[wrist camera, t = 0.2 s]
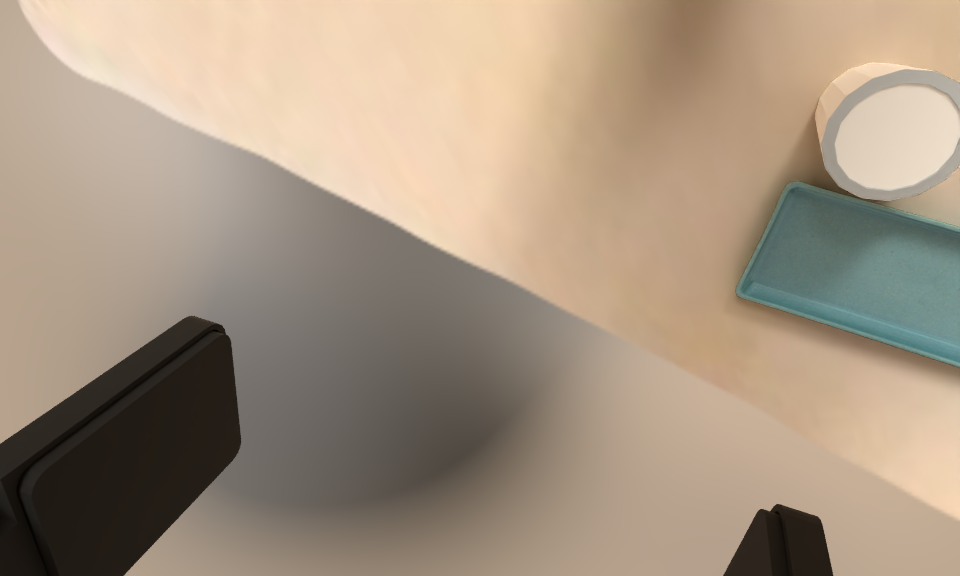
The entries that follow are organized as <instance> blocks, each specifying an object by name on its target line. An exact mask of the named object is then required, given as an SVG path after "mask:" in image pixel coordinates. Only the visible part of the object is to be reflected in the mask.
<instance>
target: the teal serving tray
mask: <svg viewBox="0 0 960 576" xmlns="http://www.w3.org/2000/svg"><path fill="white" fill-rule="evenodd" d="M736 295H737V296H738V297H740V298H743V299H746V300H750V301H753V302H756V303H759V304H763V305H766V306H769V307H772V308H775V309H779V310H782V311H785V312H788V313H791V314H794V315H798V316H801V317H804V318H807V319H810V320H813V321H816V322H819V323H823V324H826V325H829V326H832V327H835V328H839V329H842V330H845V331H848V332H851V333H854V334H857V335H860V336H863V337H866V338H869V339H872V340H876V341H879V342H882V343H885V344H888V345H891V346H894V347H897V348H901V349H903V350H906V351H910V352H913V353H916V354H919V355H922V356H925V357H929V358H931V359H934V360H937V361H940V362H943V363H947V364H950V365H953V366H956V367H959V368H960V227H958V226H954V225H951V224H947V223H944V222H940V221H936V220H933V219H929V218H926V217H922V216H919V215H915V214H911V213H908V212H904V211H901V210H897V209H894V208H890V207H887V206H883V205H879V204H876V203H872V202H869V201H865V200H861V199H858V198H854V197H851V196H847V195H843V194H840V193H836V192H833V191H829V190H826V189H822V188H819V187H815V186H812V185H809V184H806V183H803V182H800V181H793V182H791V183H789V184H787V185H786V186H785V188H784V190H783V192H782V195H781V197H780V199H779V201H778V203H777V205H776V208H775V210H774V212H773V214H772V217H771V219H770V221H769V223H768V225H767V227H766V229H765V231H764V234H763V236H762V238H761V240H760V242H759V243H758V245H757V248H756V250H755V251H754V253H753V255H752V257H751V259H750V261H749V263H748V265H747V267H746V269H745V271H744V273H743V275H742V277H741V279H740V281H739V283H738V285H737V287H736Z"/></svg>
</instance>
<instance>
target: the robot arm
mask: <svg viewBox="0 0 960 576" xmlns="http://www.w3.org/2000/svg"><path fill="white" fill-rule="evenodd" d="M240 445H241V435H240V425H239V415H238V407H237V396H236V386H235V376H234V367H233V357H232V347H231V340H230V338H229V336H228V335H226V333H225V329H224V328H223V326H222V325H219V324H217V323H214V322H211V321H207V320H204V319H201V318H198V317H195V316H189V317H186V318H184V319H183V320H181V321H180V322H178V323H177V324H175V325H174V326H172V327H171V328H169V329H168V330H167V331H165V332H164V333H162V334H161V335H159V336H158V337H156V338H155V339H153V340H152V341H150V342H149V343H148V344H146V345H144V346H143V347H142V348H140V349H139V350H137V351H136V352H134V353H133V354H131V355H130V356H128V357H127V358H125V359H124V360H122V361H121V362H120V363H118V364H117V365H115V366H114V367H112V368H111V369H109V370H108V371H106V372H105V373H103V374H102V375H100V376H99V377H98V378H96V379H95V380H93V381H92V382H90V383H89V384H87V385H86V386H85V387H83V388H81V389H80V390H79V391H77V392H76V393H74V394H73V395H71V396H70V397H69V398H67V399H65V400H64V401H62V402H61V403H59V404H58V405H57V406H55V407H54V408H52V409H51V410H49V411H48V412H46V413H45V414H43V415H42V416H41V417H39V418H37V419H36V420H35V421H33V422H32V423H30V424H29V425H27V426H26V427H25V428H23V429H21V430H20V431H19V432H17V433H16V434H14V435H13V436H11V437H10V438H8V439H7V440H5V441H4V442H2V443H1V444H0V576H124V575H125V573H126V572H127V571H128V570H129V569H130V568H131V567H132V566H133V565H134V564H135V563H136V562H137V561H138V560H139V559H140V558H141V557H142V555H143V554H144V553H145V552H146V551H147V550H148V549H149V548H150V547H151V546H152V545H153V544H154V543H155V542H156V541H157V540H158V539H159V538H160V536H162V534H163V533H164V532H165V531H166V530H167V529H168V528H169V527H170V526H171V525H172V524H173V523H174V522H175V521H176V520H177V519H178V518H179V516H180V515H181V514H182V513H183V512H184V511H185V510H186V509H187V508H188V507H189V506H190V505H191V504H192V503H193V502H194V501H195V500H196V498H198V496H199V495H200V494H201V493H202V492H203V491H204V490H205V489H206V488H207V487H208V486H209V485H210V484H211V483H212V482H213V481H214V480H215V479H216V478H217V476H218V475H219V474H220V473H221V472H222V471H223V470H224V469H225V468H226V467H227V466H228V465H229V464H230V463H231V462H232V461H233V459H234V458H235V457H236V455H237V453H238V451H239V449H240ZM723 576H833V572H832V567H831V563H830V558H829V553H828V549H827V544H826V539H825V534H824V530H823V526H822V523H821V520H820V519H819V518H818V517H817V516H814V515H811V514H808V513H805V512H802V511H799V510H795V509H792V508H789V507H786V506H783V505H780V504H776V505H775V506H774V507H773V508H772V510H771V511H767V510H764V509H760V510H759V511H758V512H757V514H756V516H755V517H754V519H753V521H752V523H751V525H750V527H749V529H748V530H747V532H746V534H745V536H744V538H743V540H742V542H741V544H740V545H739V547H738V549H737V551H736V553H735V555H734V557H733V558H732V560H731V562H730V564H729V566H728V568H727V570H726V572H725V574H724V575H723Z"/></svg>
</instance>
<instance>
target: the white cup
mask: <svg viewBox="0 0 960 576" xmlns="http://www.w3.org/2000/svg"><path fill="white" fill-rule="evenodd" d="M815 121H816V127H817V133H818V138H819V143H820V147H821V152H822V157H823V162H824V167H825V169H826V170H827V172H828V173H829V174H830V176H831V177H832V178H833V180H834V181H835V182H836V184H837V185H838V186H839V187H841V188H842V189H844V190H846V191H848V192H850V193H852V194H854V195H856V196H858V197H860V198H864V199H873V200H882V201H892V200H897V199H901V198H906V197H911V196H916V195H919V194H921V193H923V192H924V191H926V190H928V189H930V188H932V187H933V186H935V185H937V184H939V183H941V182H943V181H944V180H946V179H947V178H948V177H949V176H950V175H951V174H952V172H953V171H954V170H955V169H956V168H957V167H958V166H959V165H960V83H958V82H956V81H954V80H953V79H951V78H949V77H947V76H945V75H943V74H941V73H939V72H937V71H933V70H927V69H921V68H915V67H910V66H904V65H898V64H892V63H874V62H871V63H867V64H864V65H861V66H857V67H854V68H851V69H849V70H847V71H846V72H844V73H843V74H842V75H840V76H839V77H837V78H836V79H834V80H833V81H832V82H831V83H830V84H829V86H828V87H827V88H826V90H825V91H824V92H823V94H822V95H821V97H820V98H819V102H818V105H817V109H816V112H815Z"/></svg>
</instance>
